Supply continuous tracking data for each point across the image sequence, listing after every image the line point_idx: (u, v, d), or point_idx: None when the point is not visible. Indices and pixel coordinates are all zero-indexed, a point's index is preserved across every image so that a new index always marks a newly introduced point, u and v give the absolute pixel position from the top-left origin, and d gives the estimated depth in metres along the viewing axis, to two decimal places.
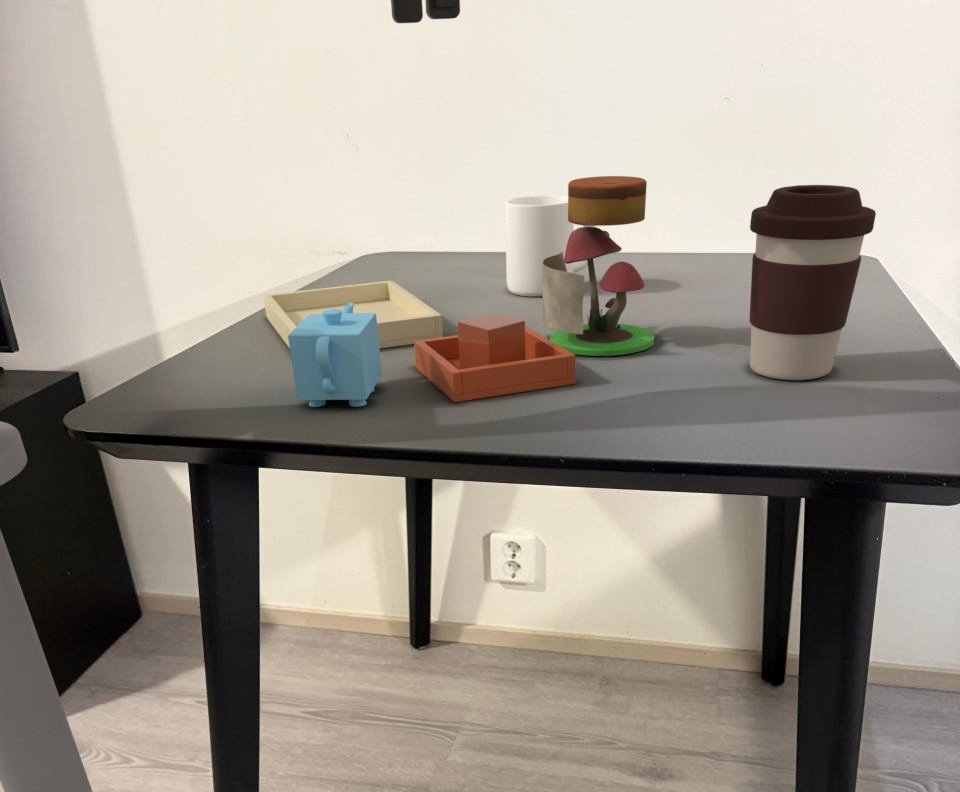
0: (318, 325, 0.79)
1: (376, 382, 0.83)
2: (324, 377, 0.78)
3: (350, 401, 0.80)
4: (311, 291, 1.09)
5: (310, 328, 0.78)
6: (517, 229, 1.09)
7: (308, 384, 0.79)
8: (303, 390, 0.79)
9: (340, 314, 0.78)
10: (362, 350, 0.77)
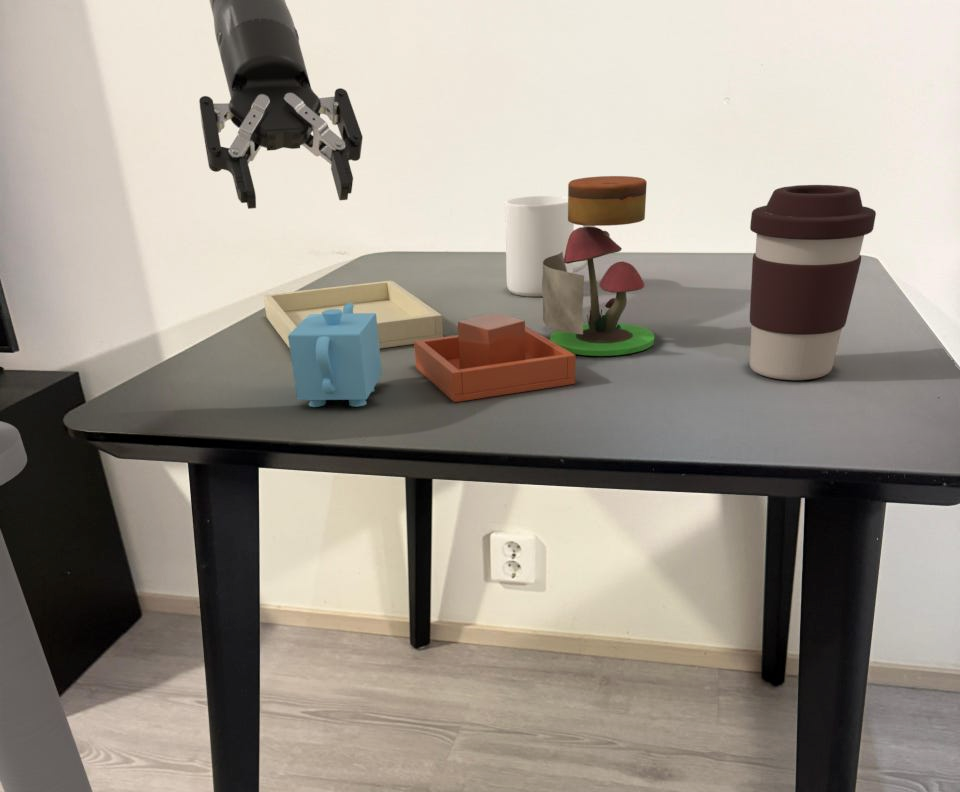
0: (318, 325, 0.79)
1: (376, 382, 0.83)
2: (324, 377, 0.78)
3: (350, 401, 0.80)
4: (311, 291, 1.09)
5: (310, 328, 0.78)
6: (517, 229, 1.09)
7: (308, 384, 0.79)
8: (303, 390, 0.79)
9: (340, 314, 0.78)
10: (362, 350, 0.77)
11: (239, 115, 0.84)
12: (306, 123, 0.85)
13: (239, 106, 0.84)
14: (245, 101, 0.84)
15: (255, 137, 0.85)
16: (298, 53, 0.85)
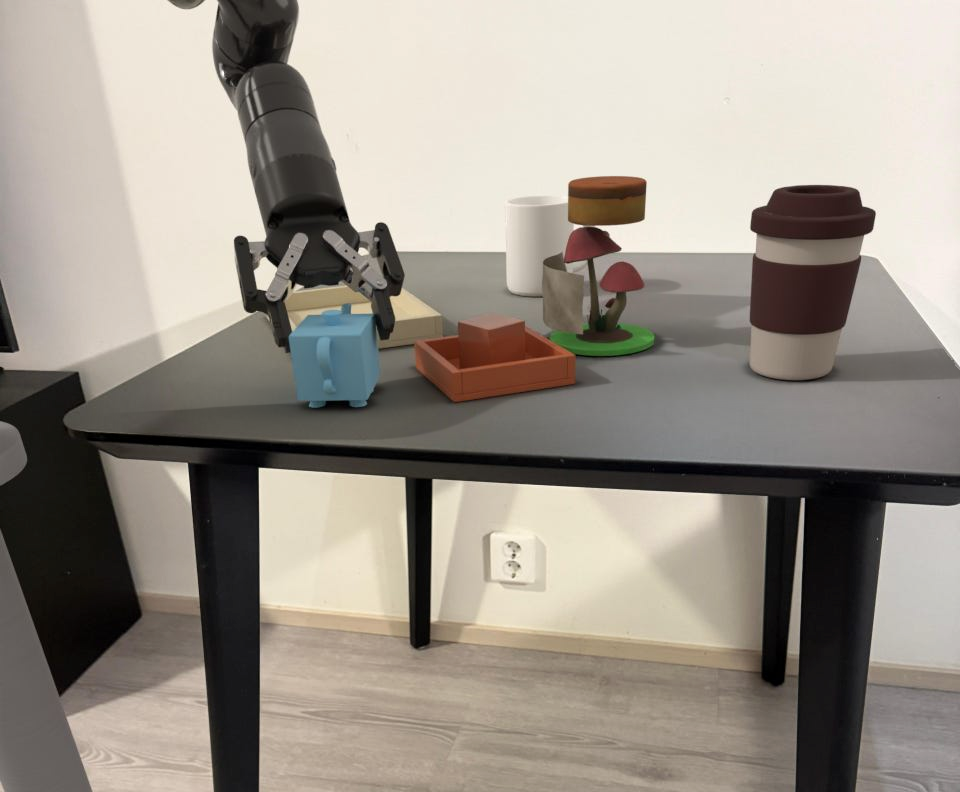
0: (318, 326, 0.79)
1: (376, 382, 0.83)
2: (325, 378, 0.78)
3: (350, 402, 0.80)
4: (311, 291, 1.09)
5: (310, 329, 0.78)
6: (517, 229, 1.09)
7: (308, 384, 0.78)
8: (304, 391, 0.79)
9: (340, 315, 0.78)
10: (363, 350, 0.77)
11: (275, 254, 0.80)
12: (346, 261, 0.80)
13: (275, 245, 0.80)
14: (282, 239, 0.80)
15: (292, 276, 0.80)
16: (336, 188, 0.81)
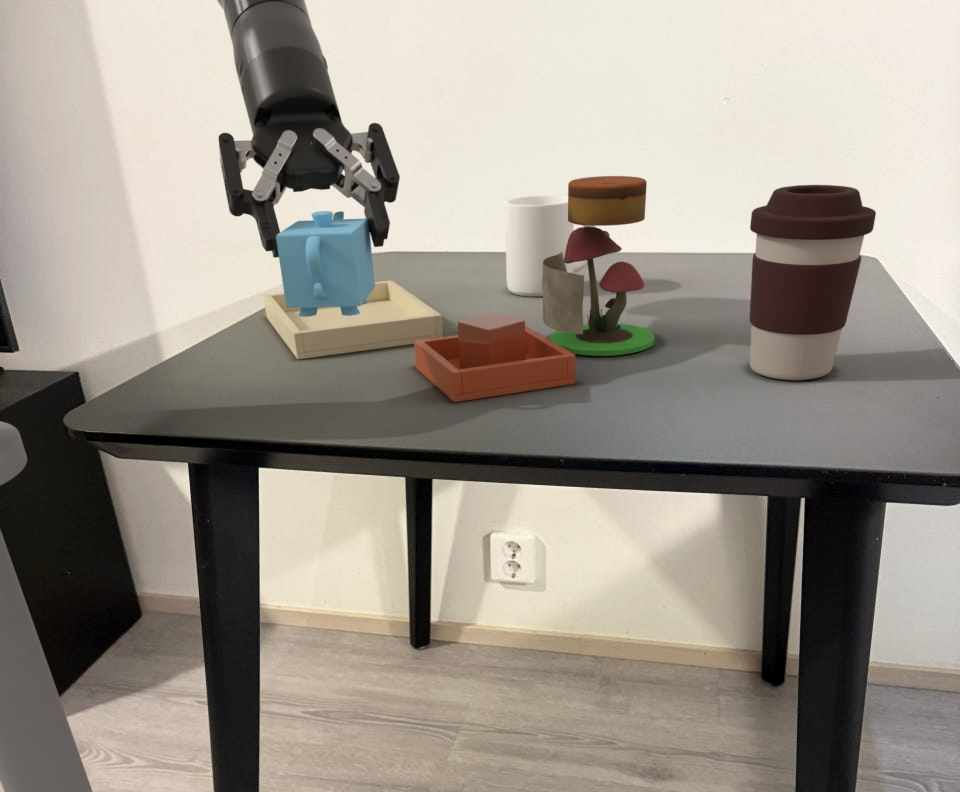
0: (307, 228, 0.74)
1: (369, 292, 0.78)
2: (315, 281, 0.73)
3: (342, 310, 0.76)
4: None
5: (299, 230, 0.73)
6: (517, 229, 1.09)
7: (297, 289, 0.74)
8: (292, 297, 0.74)
9: (331, 215, 0.74)
10: (355, 251, 0.73)
11: (263, 153, 0.75)
12: (337, 162, 0.76)
13: (263, 143, 0.75)
14: (269, 138, 0.75)
15: (281, 178, 0.76)
16: (327, 85, 0.76)
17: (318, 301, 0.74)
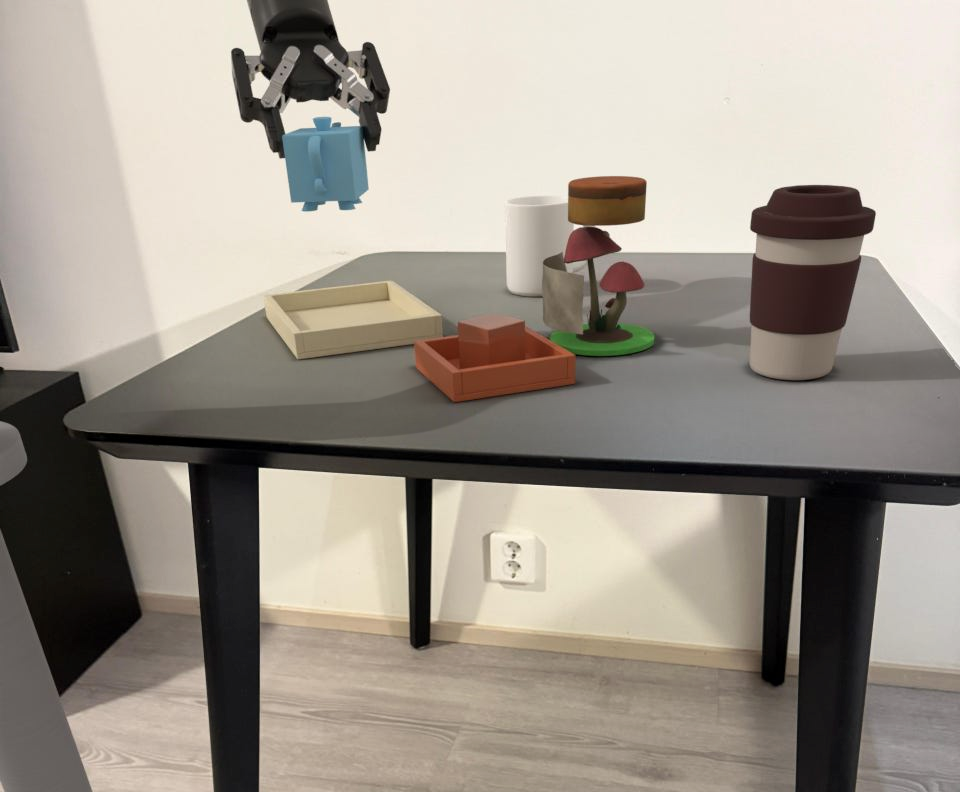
0: (309, 131, 0.85)
1: (364, 192, 0.89)
2: (316, 177, 0.84)
3: (340, 205, 0.87)
4: (311, 291, 1.09)
5: (302, 132, 0.84)
6: (517, 229, 1.09)
7: (301, 185, 0.85)
8: (296, 192, 0.85)
9: (330, 120, 0.85)
10: (351, 150, 0.83)
11: (270, 67, 0.86)
12: (335, 75, 0.87)
13: (270, 58, 0.86)
14: (275, 53, 0.86)
15: (285, 89, 0.87)
16: (326, 7, 0.87)
17: (319, 196, 0.85)
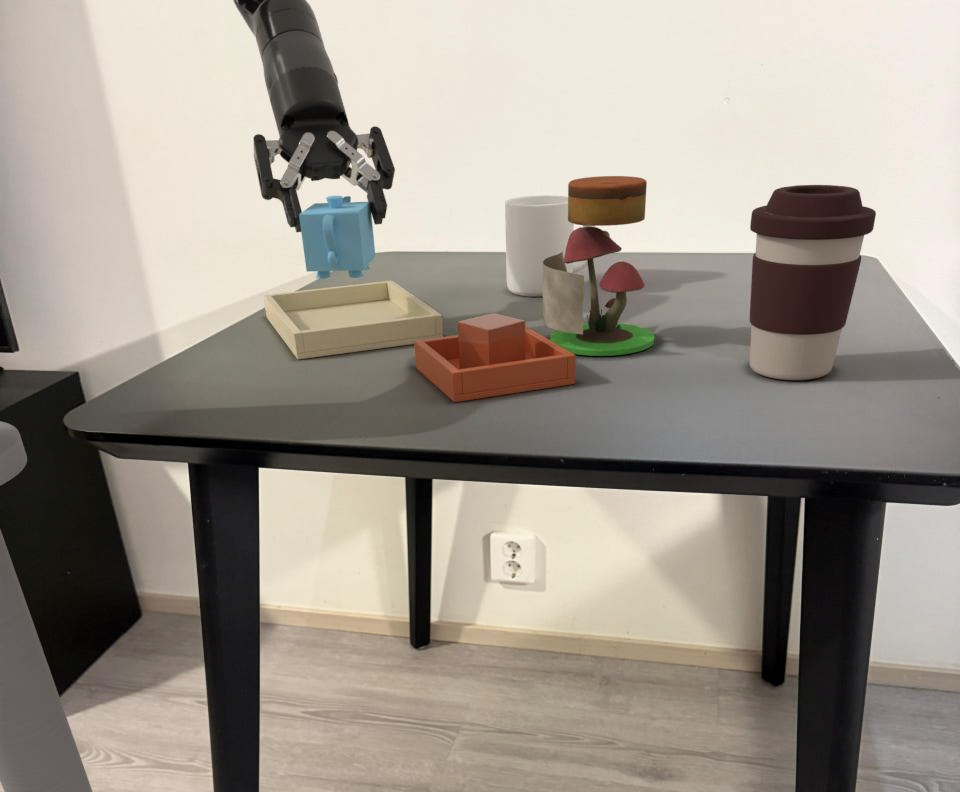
0: (323, 208, 0.95)
1: (371, 260, 0.99)
2: (329, 250, 0.94)
3: (350, 273, 0.97)
4: (311, 291, 1.09)
5: (317, 210, 0.95)
6: (517, 229, 1.09)
7: (315, 257, 0.95)
8: (311, 263, 0.95)
9: (341, 199, 0.95)
10: (360, 227, 0.94)
11: (288, 150, 0.96)
12: (346, 157, 0.97)
13: (288, 143, 0.96)
14: (293, 138, 0.96)
15: (301, 169, 0.97)
16: (338, 96, 0.97)
17: (331, 266, 0.95)
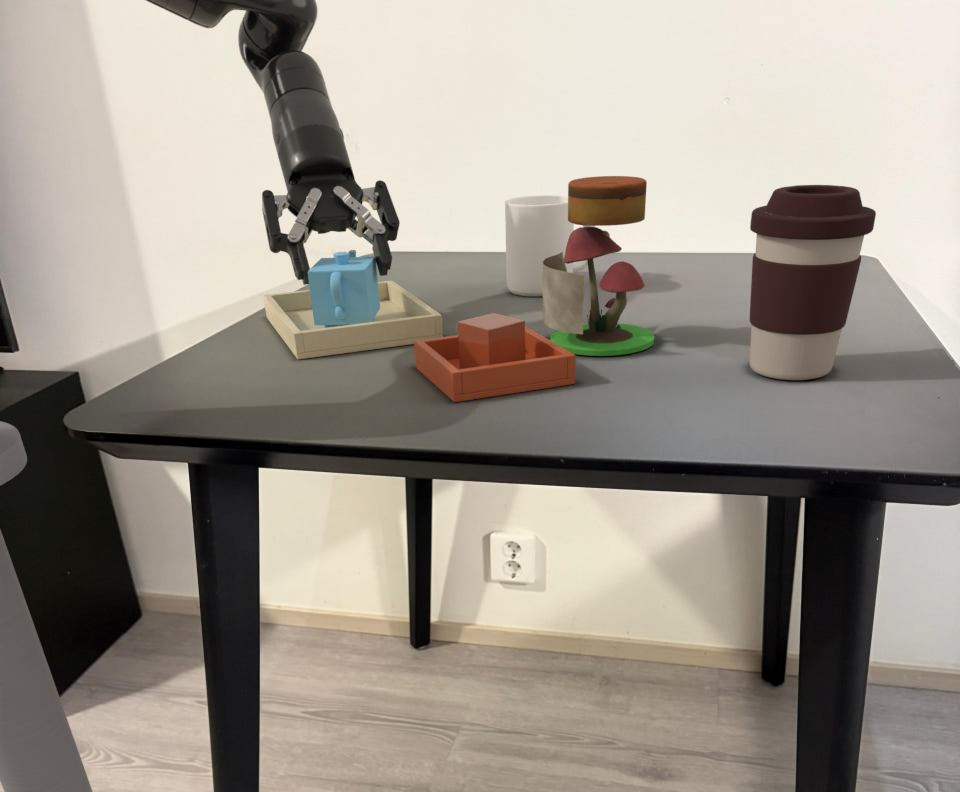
0: (330, 265, 0.98)
1: (376, 313, 1.02)
2: (336, 305, 0.97)
3: None
4: None
5: (324, 266, 0.97)
6: (517, 229, 1.09)
7: (323, 311, 0.98)
8: (319, 317, 0.98)
9: (348, 255, 0.98)
10: (367, 283, 0.97)
11: (295, 205, 0.99)
12: (352, 211, 1.00)
13: (295, 198, 0.99)
14: (300, 193, 0.99)
15: (308, 223, 1.00)
16: (344, 152, 1.00)
17: (338, 320, 0.98)
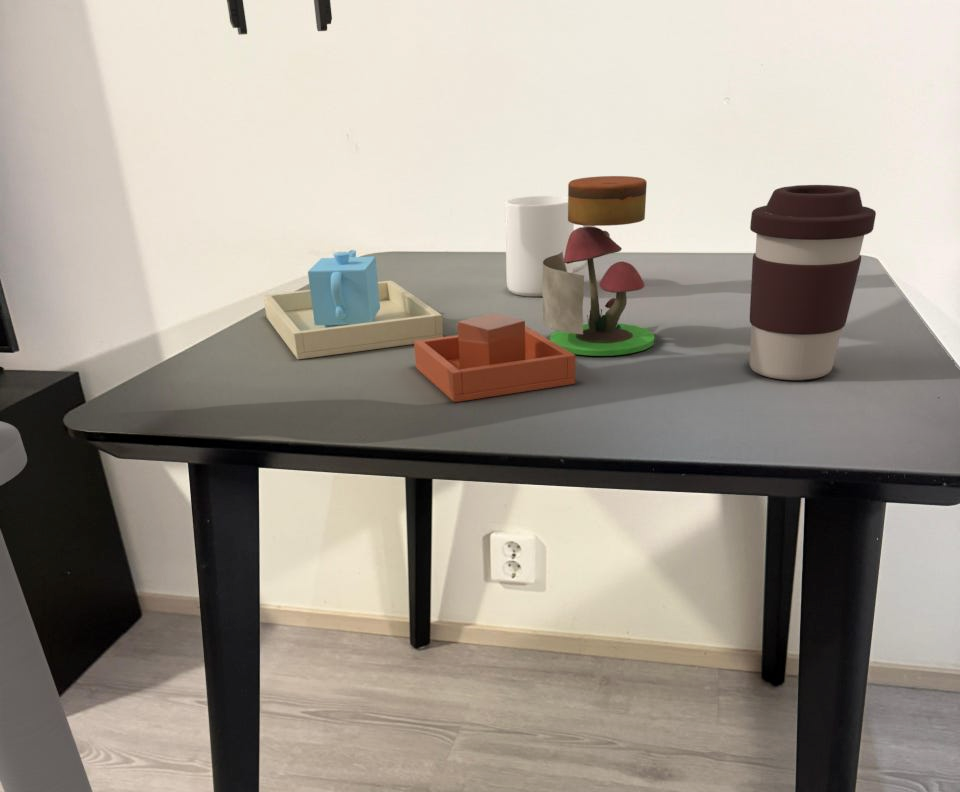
0: (330, 264, 0.98)
1: (376, 313, 1.02)
2: (337, 305, 0.97)
3: None
4: None
5: (324, 266, 0.97)
6: (517, 229, 1.09)
7: (323, 311, 0.98)
8: (319, 317, 0.98)
9: (348, 255, 0.98)
10: (367, 283, 0.97)
11: None
12: None
13: None
14: None
15: None
16: None
17: (339, 320, 0.98)
